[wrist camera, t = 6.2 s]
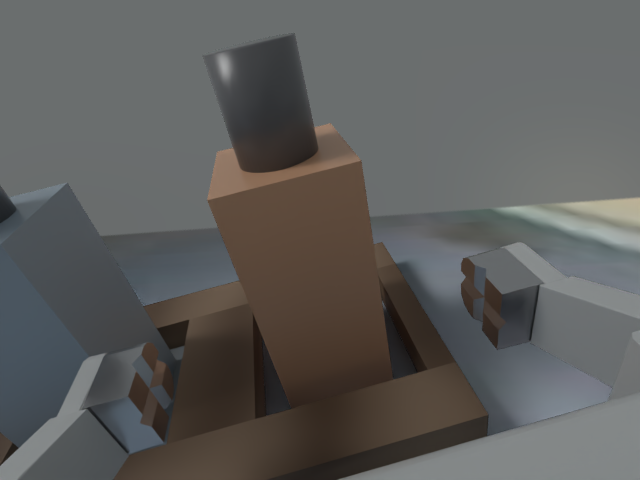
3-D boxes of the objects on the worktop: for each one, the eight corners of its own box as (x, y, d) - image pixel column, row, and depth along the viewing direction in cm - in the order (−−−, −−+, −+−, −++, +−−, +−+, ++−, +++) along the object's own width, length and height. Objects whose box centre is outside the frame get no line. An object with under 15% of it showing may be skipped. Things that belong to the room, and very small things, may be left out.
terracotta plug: (292, 410, 14) (155, 72, 8) (282, 334, 17) (182, 56, 11) (393, 381, 14) (341, 27, 8) (364, 311, 18) (312, 25, 11)
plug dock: (-374, 696, 11) (-441, 686, 10) (-101, 396, 19) (-125, 377, 18) (486, 442, 12) (488, 414, 11) (385, 264, 20) (382, 242, 19)
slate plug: (51, 475, 14) (-309, 170, 7) (89, 384, 17) (-132, 122, 11) (159, 444, 14) (-99, 120, 7) (176, 360, 17) (9, 88, 11)
